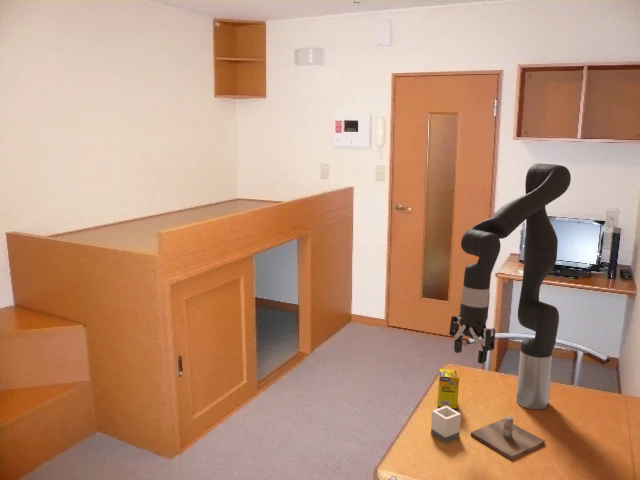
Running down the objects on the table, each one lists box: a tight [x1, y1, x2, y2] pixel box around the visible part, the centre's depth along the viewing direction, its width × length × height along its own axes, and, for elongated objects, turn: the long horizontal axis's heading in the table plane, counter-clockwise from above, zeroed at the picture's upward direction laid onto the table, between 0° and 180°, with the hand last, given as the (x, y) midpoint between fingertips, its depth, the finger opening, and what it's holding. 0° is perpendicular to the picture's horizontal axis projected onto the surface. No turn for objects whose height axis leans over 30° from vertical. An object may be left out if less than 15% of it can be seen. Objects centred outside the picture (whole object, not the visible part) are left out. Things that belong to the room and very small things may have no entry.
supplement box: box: [437, 368, 460, 412], centre depth 174 cm, size 6×6×11 cm
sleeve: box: [430, 406, 462, 443], centre depth 157 cm, size 6×6×7 cm
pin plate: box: [470, 415, 546, 461], centre depth 155 cm, size 14×14×6 cm
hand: (469, 357), depth 157 cm, fingers open, 8 cm apart
